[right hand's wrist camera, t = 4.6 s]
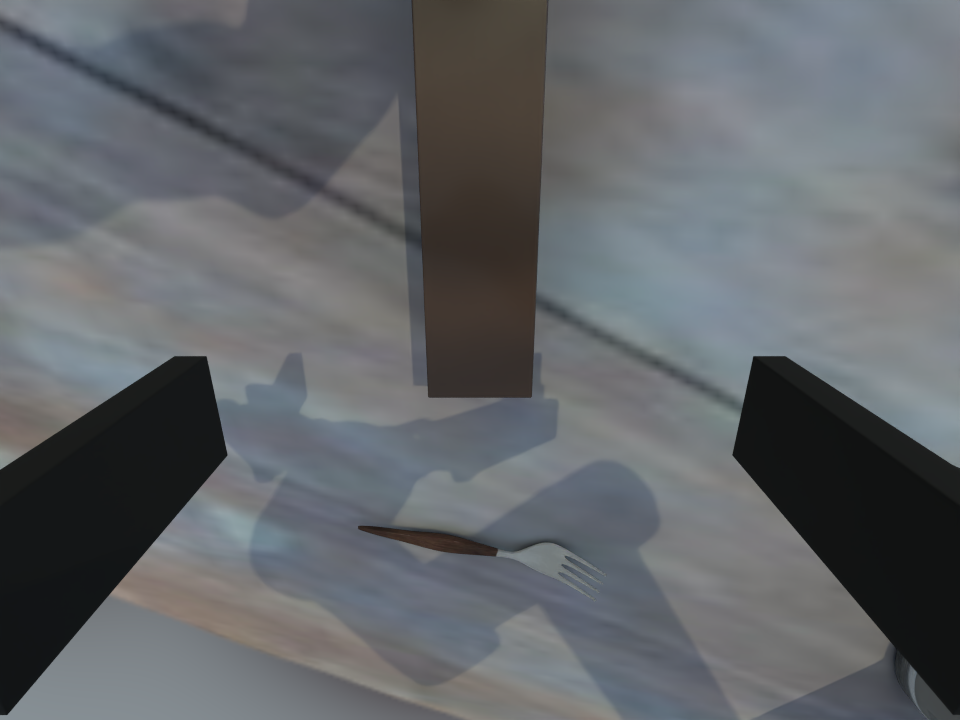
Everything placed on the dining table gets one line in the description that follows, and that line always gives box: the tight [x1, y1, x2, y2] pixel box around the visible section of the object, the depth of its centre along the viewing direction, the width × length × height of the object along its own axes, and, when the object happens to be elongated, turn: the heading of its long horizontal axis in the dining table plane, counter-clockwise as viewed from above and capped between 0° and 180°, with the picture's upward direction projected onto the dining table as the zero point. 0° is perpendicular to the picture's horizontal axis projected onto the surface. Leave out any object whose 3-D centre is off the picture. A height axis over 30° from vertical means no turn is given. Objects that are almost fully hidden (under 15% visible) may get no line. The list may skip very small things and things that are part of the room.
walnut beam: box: [412, 0, 548, 398], centre depth 20 cm, size 30×4×7 cm, turn 0°
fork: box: [358, 526, 607, 601], centre depth 33 cm, size 3×16×2 cm, turn 77°
